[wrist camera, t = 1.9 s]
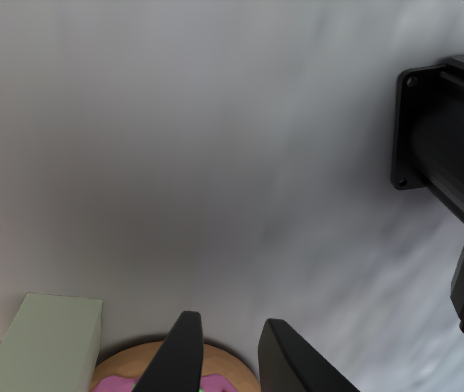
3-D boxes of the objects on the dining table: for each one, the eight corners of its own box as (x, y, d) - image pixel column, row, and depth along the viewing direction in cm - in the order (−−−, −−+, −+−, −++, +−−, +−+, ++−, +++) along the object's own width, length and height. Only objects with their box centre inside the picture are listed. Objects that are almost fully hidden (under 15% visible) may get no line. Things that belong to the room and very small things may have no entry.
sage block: (102, 299, 26) (59, 444, 18) (100, 348, 28) (60, 497, 20) (27, 292, 25) (-52, 440, 17) (30, 343, 27) (-38, 494, 19)
